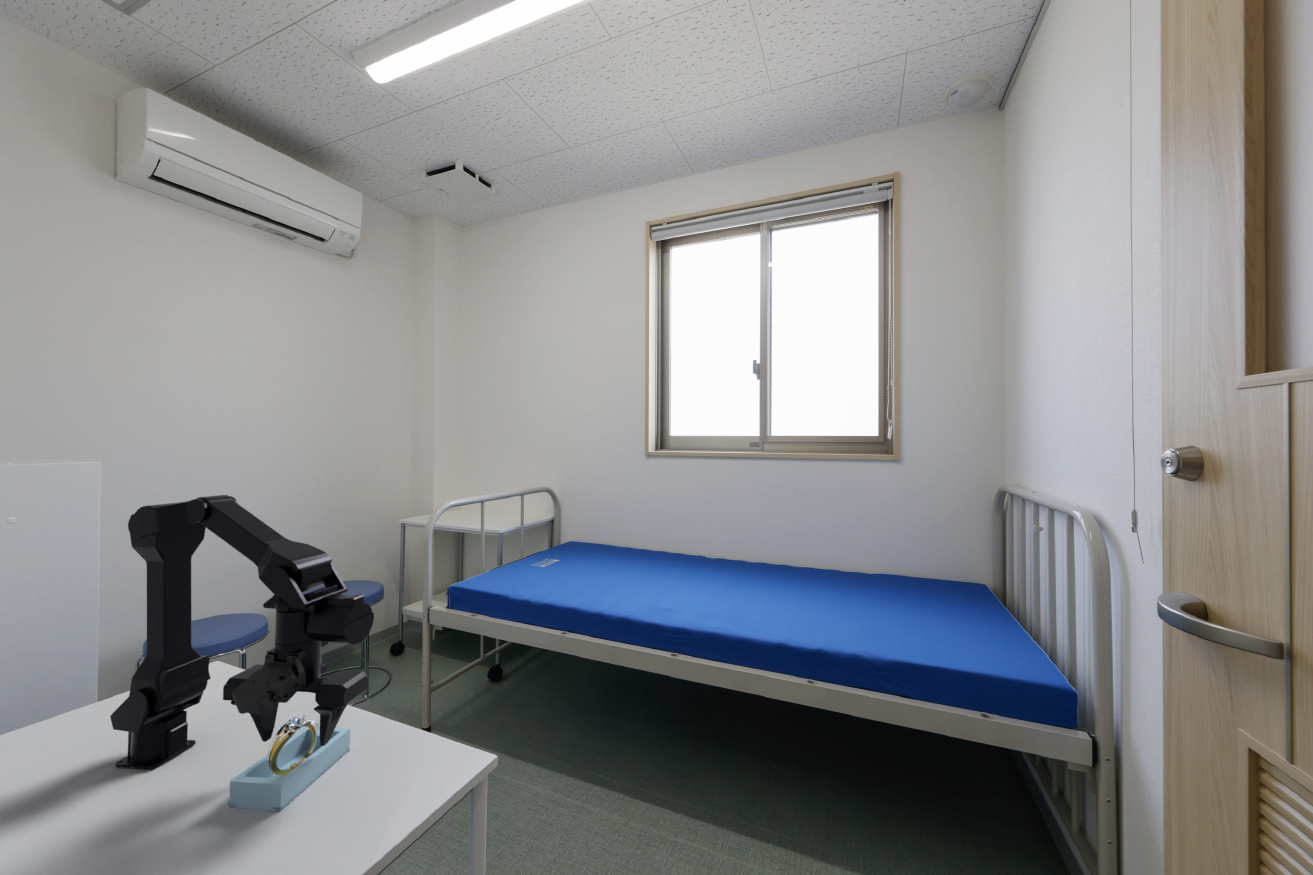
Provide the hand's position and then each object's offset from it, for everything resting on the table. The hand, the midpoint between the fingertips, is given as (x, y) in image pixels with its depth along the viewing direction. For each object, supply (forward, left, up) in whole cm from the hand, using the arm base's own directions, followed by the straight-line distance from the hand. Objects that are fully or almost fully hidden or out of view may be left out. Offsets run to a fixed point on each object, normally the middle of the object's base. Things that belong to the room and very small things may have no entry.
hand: (295, 742), depth 71 cm
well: (0, 0, -5) cm, 5 cm away
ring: (0, 0, -5) cm, 5 cm away
